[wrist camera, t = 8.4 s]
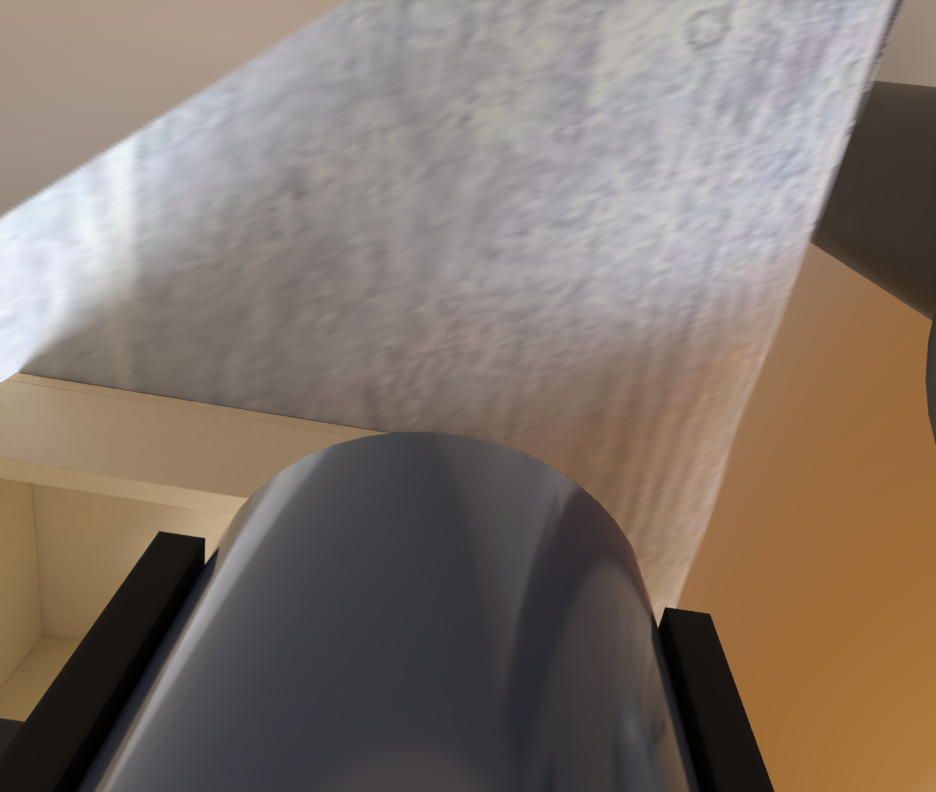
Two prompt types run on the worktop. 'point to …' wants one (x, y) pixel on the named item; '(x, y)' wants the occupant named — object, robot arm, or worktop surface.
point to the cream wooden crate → (112, 502)
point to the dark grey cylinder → (408, 639)
